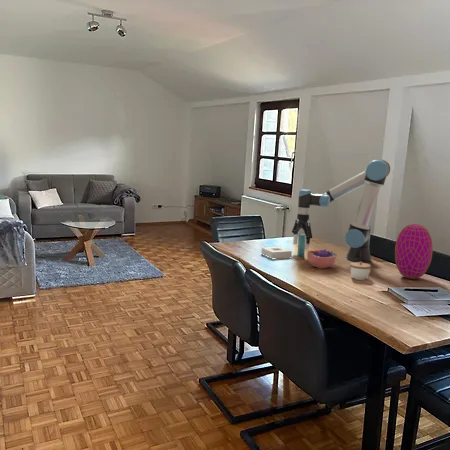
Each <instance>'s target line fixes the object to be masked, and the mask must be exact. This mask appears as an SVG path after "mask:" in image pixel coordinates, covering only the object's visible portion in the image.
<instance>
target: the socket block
mask: <svg viewBox="0 0 450 450" xmlns="http://www.w3.org/2000/svg"><path fill="white" fill-rule="evenodd" d="M261 253H262V254H264V255H267V256H269V257H271V258H284V259H291V258H292V253H293V251H292V250H290V249H287V248H285V247H282V246H269V247H261ZM262 254H261V255H262ZM264 255H263V256H264ZM290 257H291V258H290Z"/></svg>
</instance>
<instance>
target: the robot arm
mask: <svg viewBox="0 0 450 450" xmlns="http://www.w3.org/2000/svg"><path fill="white" fill-rule="evenodd" d="M390 173H391V166H390V163H389V162H388V161H386V160H383V159H373V160H371V161H369V163H368V164H367V166H366V168H365V169H364V171H362V172H360V173H358V174H357V175H354V176H353V177H351V178H349V179H347V180H345V181H343V182H342V183H340V184H338V185H336V186H334V187H332V188H330V189H328V190H326V191H325V192H323V193H312V190H311V189H303V188H302V189H300V190H299V192H298V205H297V215H296V219H295V220H294V224H293V228H292V230H291V233H292V234H293V245H298V237H299V232H300V230H301V229H302V230H303V233H304V235H306V236H305V250H307V249H309V248H310V242H311V239H313V233H312V228H311V222H308V221H309V220H310V212H311V211H310V210H311V206H316V207H323V208H324V207H325V208H327V207H329V205H330V204H331V203H332V202H334V201H336V200H337V199H340V198H342V197H343V196H345V195H348V194H349V193H351V192H353V191H355V190H357V189H359V188H362V187H363V186H364V188H363V191H362V194H361V197H360V199H359V200H360V201H359V204H358V207H357V208H356V209H357V210H356V212H355V215H354V220H353V221H351V222H349V223H350V224H349V227H348V230H347V231H346V233H345V236H344V241H345V243H346V244H347V245H348V247H349V248H348V252H347V253H346V257H345V258H346V259H347V260H349V261H352V262H360V261H361V262H362V263H367V262H371V260H372V256H371V251H370V241H371V230H372V228H371V227H372V226H371V224H370V220H371V216H372V213H373V211H374V207H375V204H376V201H377V197H378V195H379V192H380V189H381V187H383V186H384V185H385V183H386V179H387V177H388V176H389V175H390Z"/></svg>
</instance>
